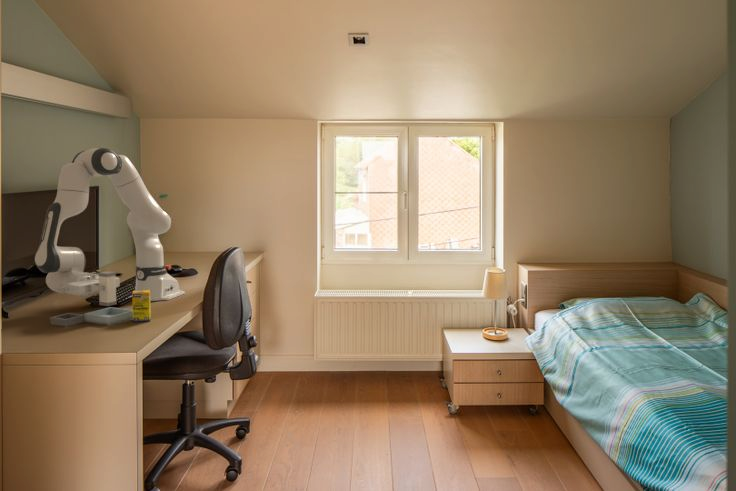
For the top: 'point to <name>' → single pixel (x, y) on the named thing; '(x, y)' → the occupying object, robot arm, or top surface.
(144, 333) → the top surface
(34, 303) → the top surface
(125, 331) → the top surface
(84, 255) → the robot arm
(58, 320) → the socket
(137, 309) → the supplement box
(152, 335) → the top surface
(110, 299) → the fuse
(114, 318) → the tray
